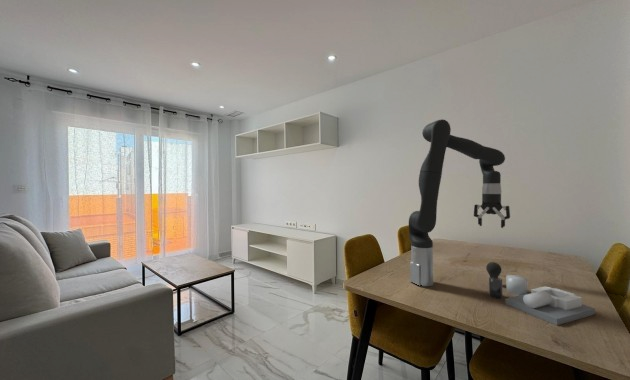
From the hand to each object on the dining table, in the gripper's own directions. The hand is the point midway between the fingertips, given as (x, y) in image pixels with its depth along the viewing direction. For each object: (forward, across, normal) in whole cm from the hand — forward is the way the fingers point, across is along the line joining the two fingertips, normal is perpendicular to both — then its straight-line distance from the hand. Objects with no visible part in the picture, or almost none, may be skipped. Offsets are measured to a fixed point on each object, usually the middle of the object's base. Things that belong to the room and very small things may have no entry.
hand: (491, 226), depth 123 cm
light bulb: (+25, +2, -9) cm, 27 cm away
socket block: (+25, +20, -24) cm, 40 cm away
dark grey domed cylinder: (+25, +4, -23) cm, 34 cm away
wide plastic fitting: (+25, +10, -13) cm, 30 cm away
